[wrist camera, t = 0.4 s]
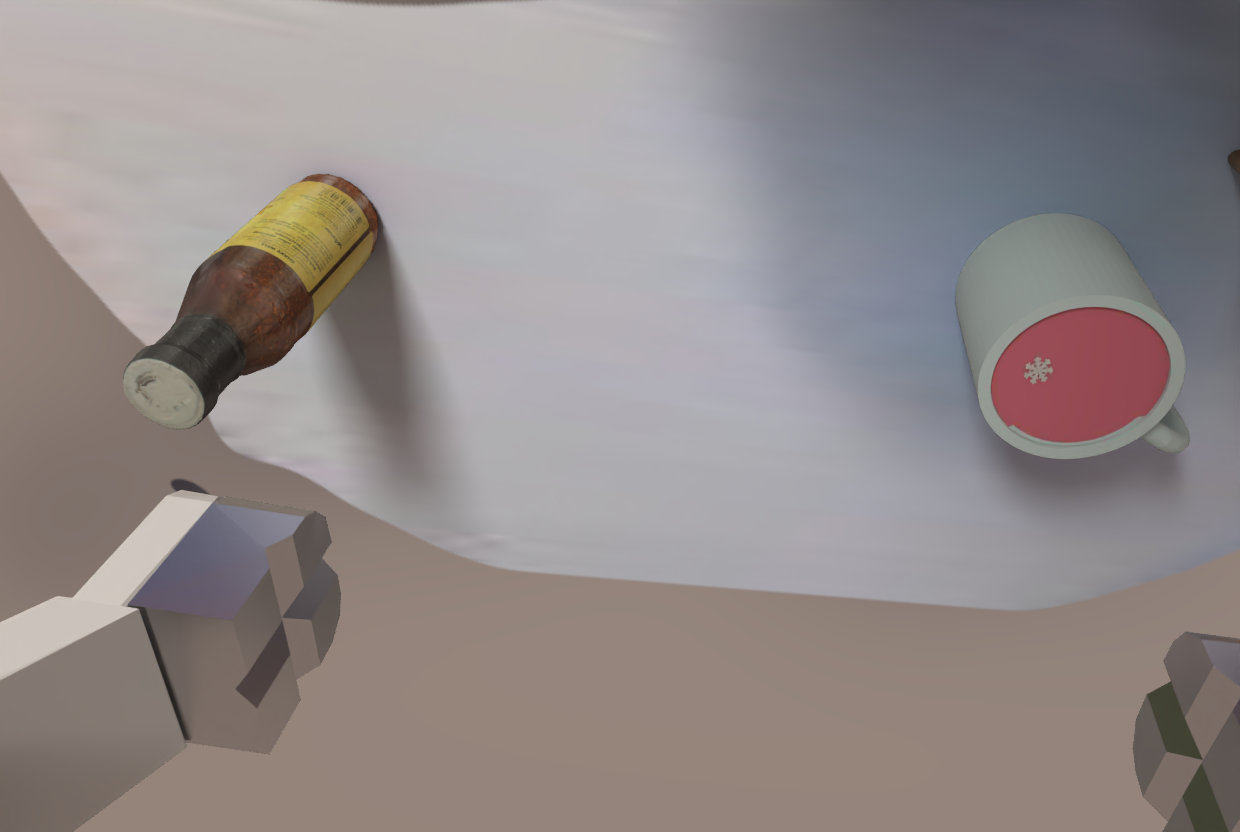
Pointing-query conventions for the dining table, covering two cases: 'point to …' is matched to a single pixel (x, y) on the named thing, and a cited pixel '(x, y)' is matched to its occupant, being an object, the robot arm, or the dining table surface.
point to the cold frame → (1235, 160)
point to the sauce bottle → (254, 298)
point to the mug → (1068, 341)
